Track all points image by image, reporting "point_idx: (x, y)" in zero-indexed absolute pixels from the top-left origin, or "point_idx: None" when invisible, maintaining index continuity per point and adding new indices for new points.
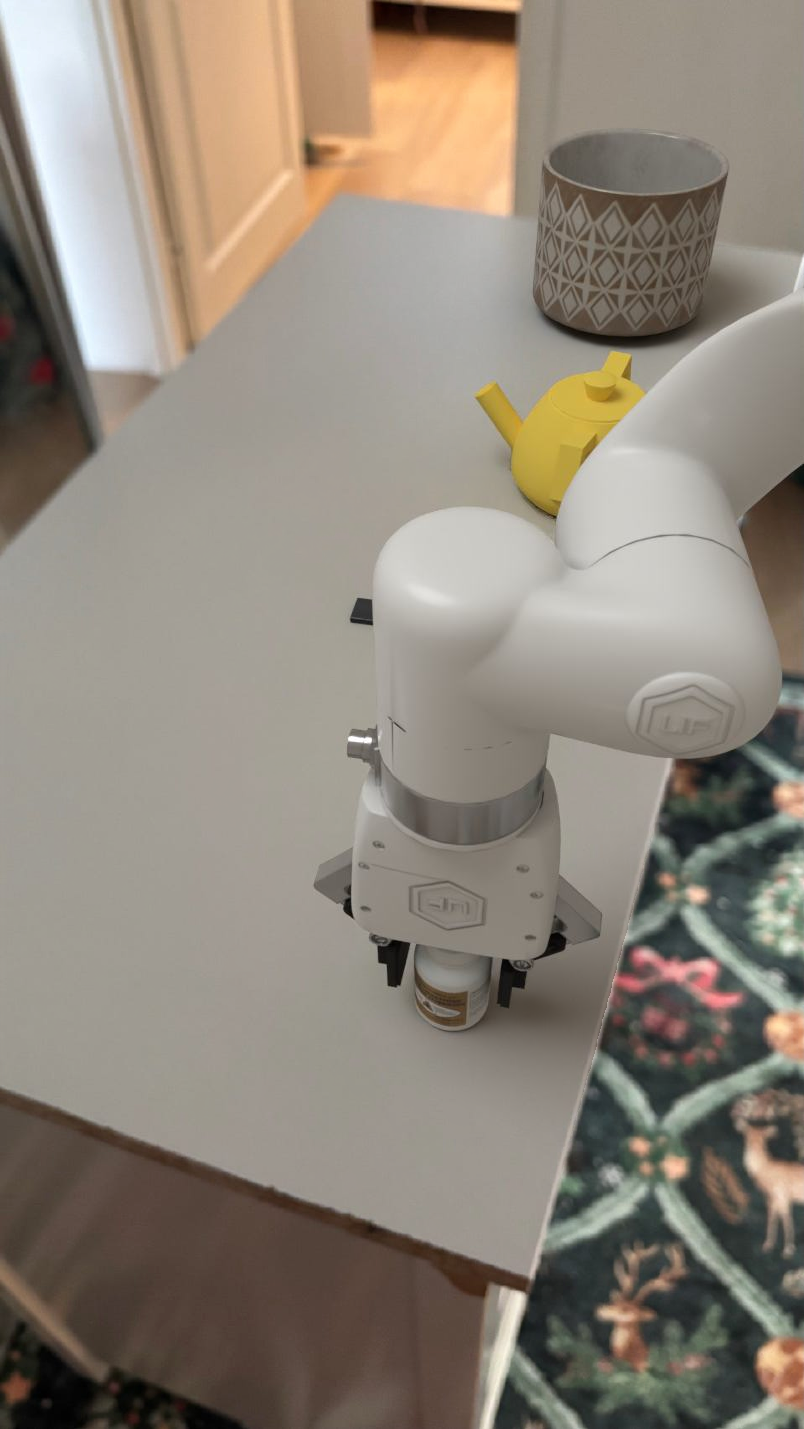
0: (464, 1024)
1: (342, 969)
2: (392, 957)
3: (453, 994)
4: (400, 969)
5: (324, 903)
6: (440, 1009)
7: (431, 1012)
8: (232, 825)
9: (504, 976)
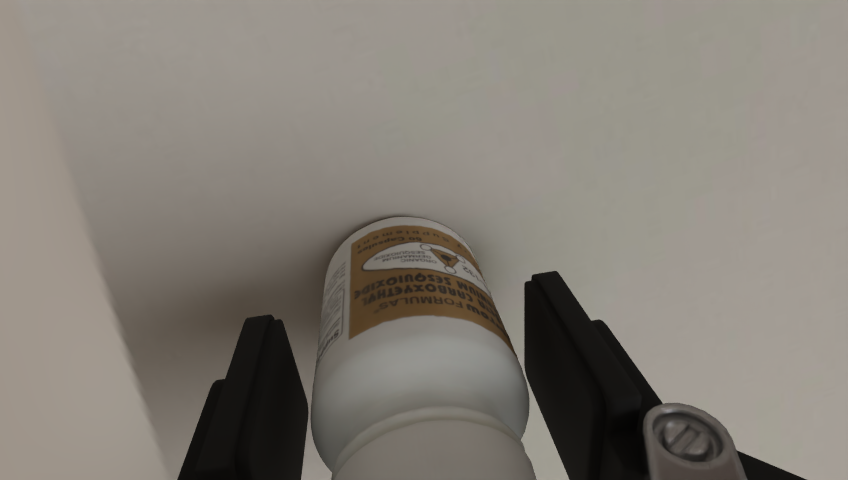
0: (354, 242)
1: (625, 264)
2: (606, 375)
3: (385, 316)
4: (549, 330)
5: (675, 359)
6: (412, 259)
7: (431, 244)
8: (839, 418)
9: (229, 443)
